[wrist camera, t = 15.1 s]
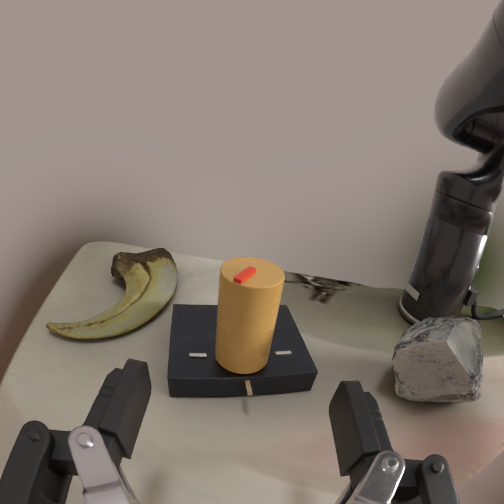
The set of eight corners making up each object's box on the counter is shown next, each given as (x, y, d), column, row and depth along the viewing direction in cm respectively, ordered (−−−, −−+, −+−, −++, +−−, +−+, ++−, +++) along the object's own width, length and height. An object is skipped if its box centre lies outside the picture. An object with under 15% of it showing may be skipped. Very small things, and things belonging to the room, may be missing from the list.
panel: (282, 323, 32) (286, 303, 30) (317, 405, 21) (326, 386, 20) (174, 322, 29) (173, 302, 28) (169, 414, 19) (166, 394, 17)
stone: (486, 296, 20) (431, 307, 17) (501, 393, 16) (447, 435, 13) (423, 323, 28) (360, 334, 26) (434, 402, 24) (371, 430, 21)
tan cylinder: (232, 332, 25) (241, 247, 22) (276, 350, 24) (294, 265, 20) (204, 359, 22) (207, 268, 18) (252, 382, 20) (269, 290, 17)
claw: (132, 258, 41) (131, 237, 40) (194, 271, 40) (195, 250, 39) (49, 336, 23) (41, 310, 22) (127, 370, 22) (121, 344, 21)
